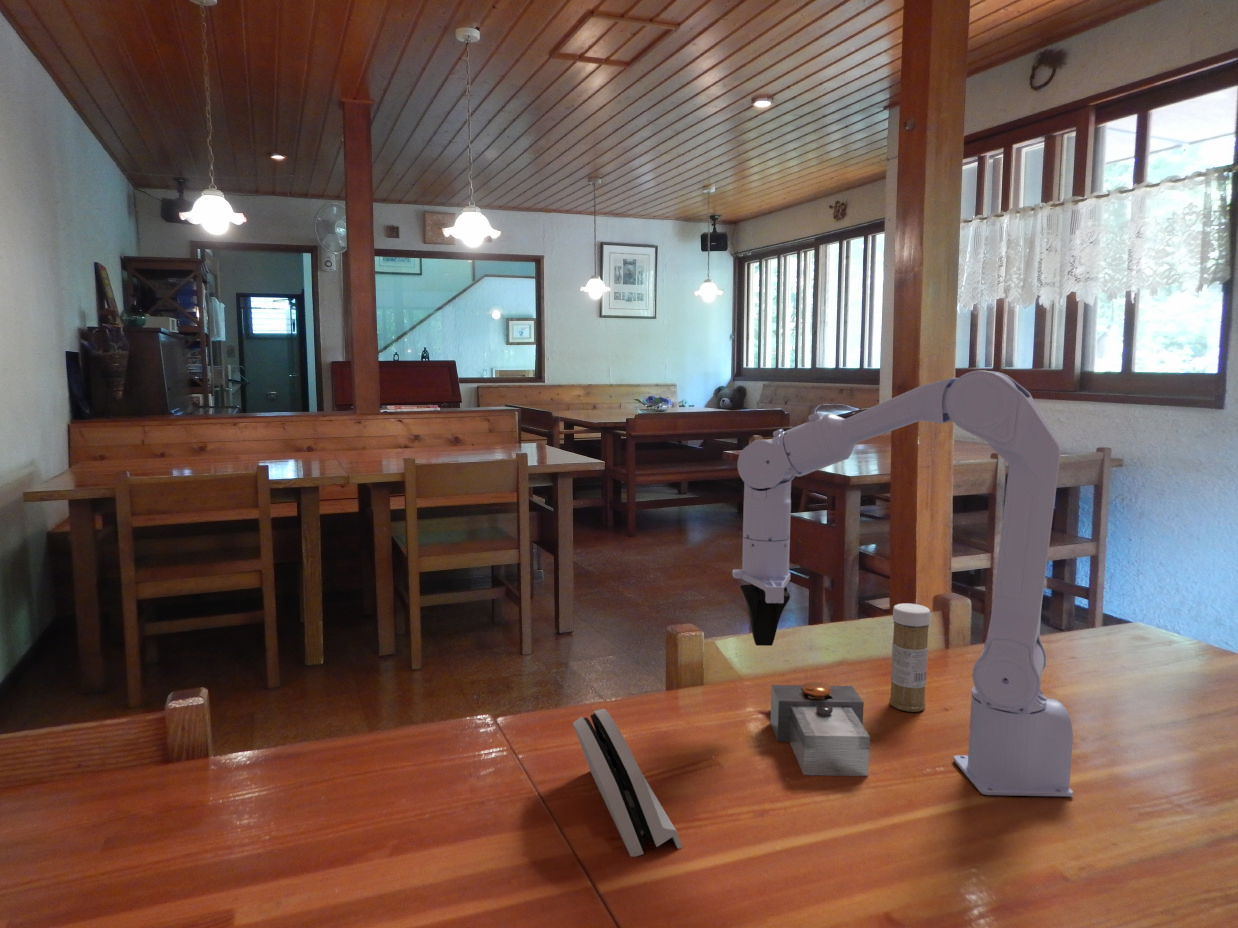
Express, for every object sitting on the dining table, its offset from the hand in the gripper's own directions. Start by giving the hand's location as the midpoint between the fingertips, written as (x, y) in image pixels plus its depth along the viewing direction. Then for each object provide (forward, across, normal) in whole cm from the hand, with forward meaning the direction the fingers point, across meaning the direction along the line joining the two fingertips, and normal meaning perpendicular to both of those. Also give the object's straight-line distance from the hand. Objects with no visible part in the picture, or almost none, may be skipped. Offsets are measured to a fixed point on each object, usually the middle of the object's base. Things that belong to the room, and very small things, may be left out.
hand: (763, 643), depth 100 cm
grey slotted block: (+10, +21, -18) cm, 30 cm away
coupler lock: (+10, +10, +6) cm, 15 cm away
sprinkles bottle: (+10, -5, +20) cm, 23 cm away
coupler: (+10, +3, +6) cm, 12 cm away
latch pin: (+8, +4, +6) cm, 11 cm away
